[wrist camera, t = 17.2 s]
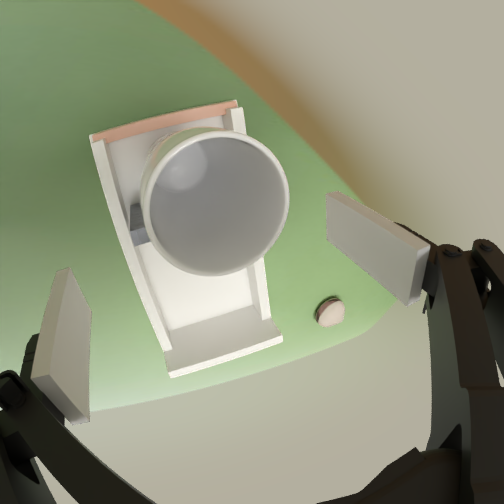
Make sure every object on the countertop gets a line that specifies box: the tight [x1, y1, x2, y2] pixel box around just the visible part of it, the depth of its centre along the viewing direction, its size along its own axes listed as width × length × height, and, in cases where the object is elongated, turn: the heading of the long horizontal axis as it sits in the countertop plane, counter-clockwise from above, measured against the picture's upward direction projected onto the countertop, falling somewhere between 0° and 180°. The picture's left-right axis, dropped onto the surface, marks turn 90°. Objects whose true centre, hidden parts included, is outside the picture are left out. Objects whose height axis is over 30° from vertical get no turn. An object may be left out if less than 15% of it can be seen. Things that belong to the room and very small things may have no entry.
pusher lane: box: [89, 100, 283, 378], centre depth 28 cm, size 23×13×7 cm, turn 8°
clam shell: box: [316, 298, 345, 327], centre depth 42 cm, size 4×5×2 cm
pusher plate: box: [130, 203, 151, 247], centre depth 25 cm, size 1×9×6 cm, turn 98°
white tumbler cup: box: [139, 126, 290, 276], centre depth 20 cm, size 7×7×15 cm
